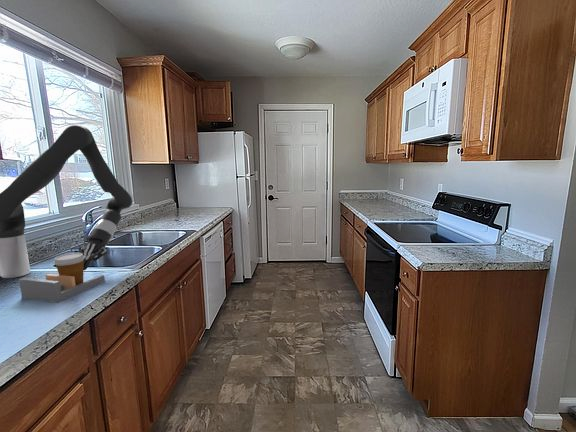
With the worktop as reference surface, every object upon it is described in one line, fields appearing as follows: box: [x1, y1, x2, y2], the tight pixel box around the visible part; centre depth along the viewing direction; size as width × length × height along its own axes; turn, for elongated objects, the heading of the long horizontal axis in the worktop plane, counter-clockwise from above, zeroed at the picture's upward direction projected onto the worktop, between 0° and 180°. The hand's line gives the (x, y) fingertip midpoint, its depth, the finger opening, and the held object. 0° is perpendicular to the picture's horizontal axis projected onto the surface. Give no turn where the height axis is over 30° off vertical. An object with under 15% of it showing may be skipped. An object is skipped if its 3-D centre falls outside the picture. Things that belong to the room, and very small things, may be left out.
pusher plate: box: [45, 273, 76, 292], centre depth 110 cm, size 12×3×6 cm, turn 76°
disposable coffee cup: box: [53, 252, 85, 285], centre depth 114 cm, size 10×10×12 cm
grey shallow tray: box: [18, 274, 106, 303], centre depth 112 cm, size 16×20×7 cm
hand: (81, 269), depth 119 cm, fingers closed
